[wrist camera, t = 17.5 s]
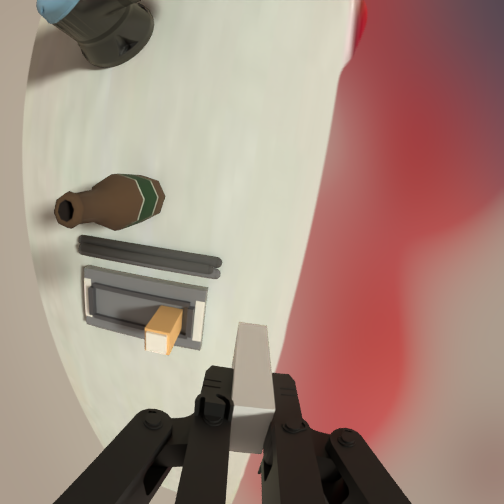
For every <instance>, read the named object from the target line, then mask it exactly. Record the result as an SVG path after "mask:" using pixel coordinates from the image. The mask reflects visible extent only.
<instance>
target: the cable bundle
mask: <svg viewBox="0 0 504 504" xmlns="http://www.w3.org/2000/svg"><path fill="white" fill-rule="evenodd" d="M79 242H80V246H79V253H80V254H81V255H86V256H91V257H96V258H101V259H106V260H111V261H116V262H121V263H126V264H132V265H137V266H142V267H148V268H153V269H159V270H164V271H170V272H176V273H181V274H187V275H193V276H199V277H205V278H211V279H218V278H219V277H220V271H219V270H218V269H216V268H219V267H220V266H221V265H222V260H221V259H220V258H219V257H213V256H207V255H201V254H194V253H188V252H182V251H176V250H170V249H164V248H158V247H152V246H146V245H140V244H134V243H128V242H122V241H116V240H110V239H104V238H99V237H93V236H87V235H81V236H80V237H79ZM213 267H214V268H213Z"/></svg>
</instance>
